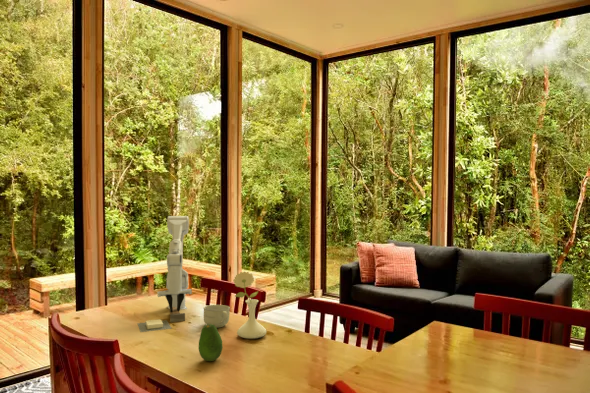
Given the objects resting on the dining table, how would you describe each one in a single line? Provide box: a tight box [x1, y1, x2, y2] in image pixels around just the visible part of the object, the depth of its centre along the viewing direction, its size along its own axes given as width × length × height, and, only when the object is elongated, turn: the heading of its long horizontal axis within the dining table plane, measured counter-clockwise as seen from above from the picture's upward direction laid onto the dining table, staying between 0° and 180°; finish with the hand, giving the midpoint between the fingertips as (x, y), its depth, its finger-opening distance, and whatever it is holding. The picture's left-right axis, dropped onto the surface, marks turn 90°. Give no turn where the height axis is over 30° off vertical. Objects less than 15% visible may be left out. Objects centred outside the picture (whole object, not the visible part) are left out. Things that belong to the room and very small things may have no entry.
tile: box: [145, 318, 163, 329], centre depth 188 cm, size 2×6×7 cm
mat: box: [136, 319, 173, 333], centre depth 188 cm, size 13×12×1 cm
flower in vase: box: [233, 271, 267, 340], centre depth 177 cm, size 13×11×25 cm
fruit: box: [198, 324, 223, 362], centre depth 151 cm, size 8×8×12 cm
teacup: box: [203, 304, 231, 329], centre depth 189 cm, size 14×11×8 cm
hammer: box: [169, 307, 186, 323], centre depth 201 cm, size 13×6×4 cm, turn 24°
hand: (174, 311), depth 201 cm, fingers closed on hammer, 2 cm apart
